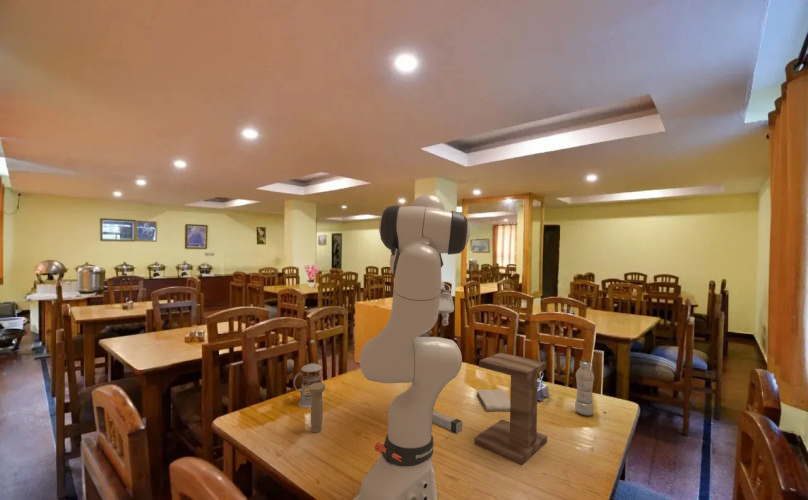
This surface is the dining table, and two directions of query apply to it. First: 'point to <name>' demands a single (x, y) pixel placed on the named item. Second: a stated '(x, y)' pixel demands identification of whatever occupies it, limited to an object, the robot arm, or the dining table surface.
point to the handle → (316, 406)
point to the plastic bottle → (584, 389)
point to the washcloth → (494, 400)
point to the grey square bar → (447, 422)
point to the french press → (307, 398)
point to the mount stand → (515, 410)
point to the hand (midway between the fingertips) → (437, 325)
